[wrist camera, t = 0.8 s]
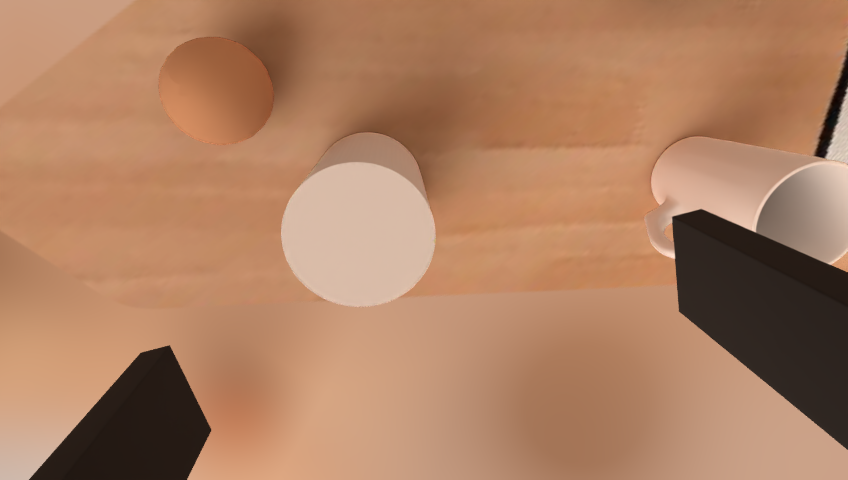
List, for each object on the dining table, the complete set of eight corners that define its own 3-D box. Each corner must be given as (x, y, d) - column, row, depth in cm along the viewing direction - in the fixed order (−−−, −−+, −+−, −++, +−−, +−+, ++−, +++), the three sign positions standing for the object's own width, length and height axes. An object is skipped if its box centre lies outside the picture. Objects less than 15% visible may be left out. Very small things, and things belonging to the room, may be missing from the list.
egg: (234, 153, 36) (191, 177, 28) (169, 78, 34) (103, 81, 26) (303, 100, 35) (277, 110, 27) (240, 19, 33) (194, 5, 25)
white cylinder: (372, 256, 39) (364, 333, 28) (292, 187, 37) (249, 241, 26) (444, 184, 37) (466, 235, 26) (365, 108, 35) (353, 128, 24)
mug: (714, 115, 37) (856, 136, 26) (741, 188, 39) (883, 237, 28) (595, 183, 38) (681, 232, 27) (628, 251, 40) (720, 322, 29)
